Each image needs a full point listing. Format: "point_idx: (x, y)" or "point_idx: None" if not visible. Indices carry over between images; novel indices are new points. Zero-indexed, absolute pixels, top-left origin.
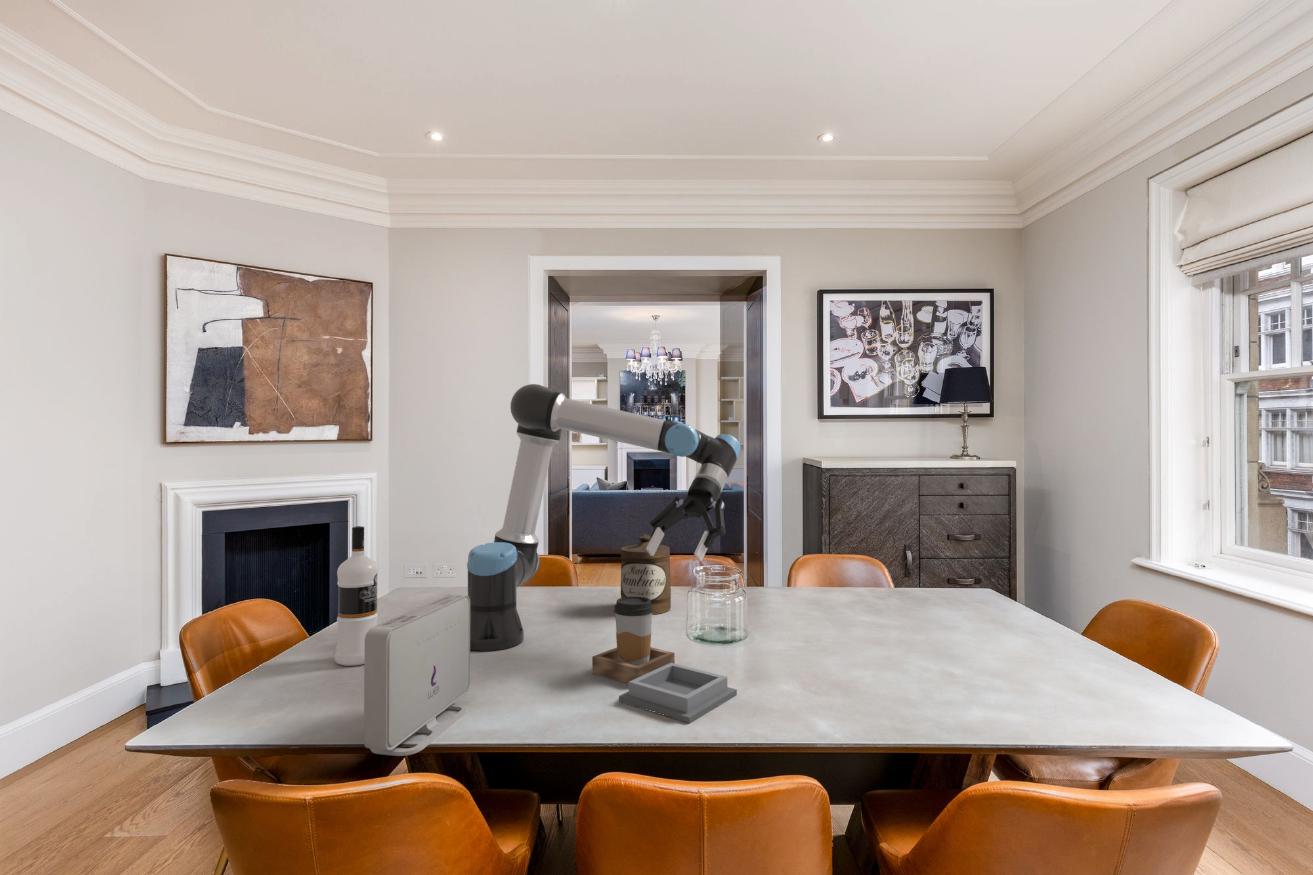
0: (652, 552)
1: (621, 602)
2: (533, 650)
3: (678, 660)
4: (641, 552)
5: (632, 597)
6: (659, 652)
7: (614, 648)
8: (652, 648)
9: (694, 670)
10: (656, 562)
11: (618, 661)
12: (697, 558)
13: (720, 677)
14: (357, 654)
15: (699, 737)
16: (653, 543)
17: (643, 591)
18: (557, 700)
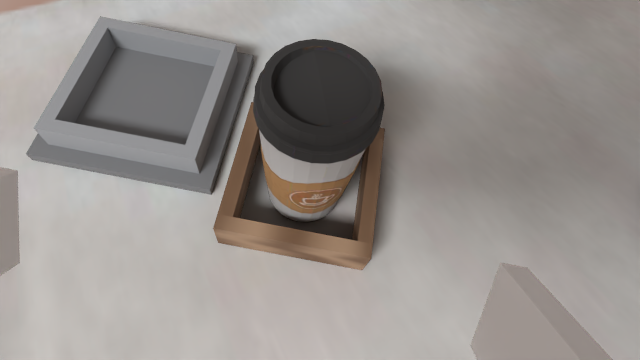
0: (484, 329)
1: (343, 52)
2: (590, 216)
3: (234, 311)
4: None
5: (352, 120)
6: (257, 222)
7: (376, 195)
8: (286, 236)
9: (122, 136)
10: None
11: None
12: (12, 227)
13: (50, 119)
14: None
15: (78, 3)
16: (529, 337)
17: None
18: (347, 36)
